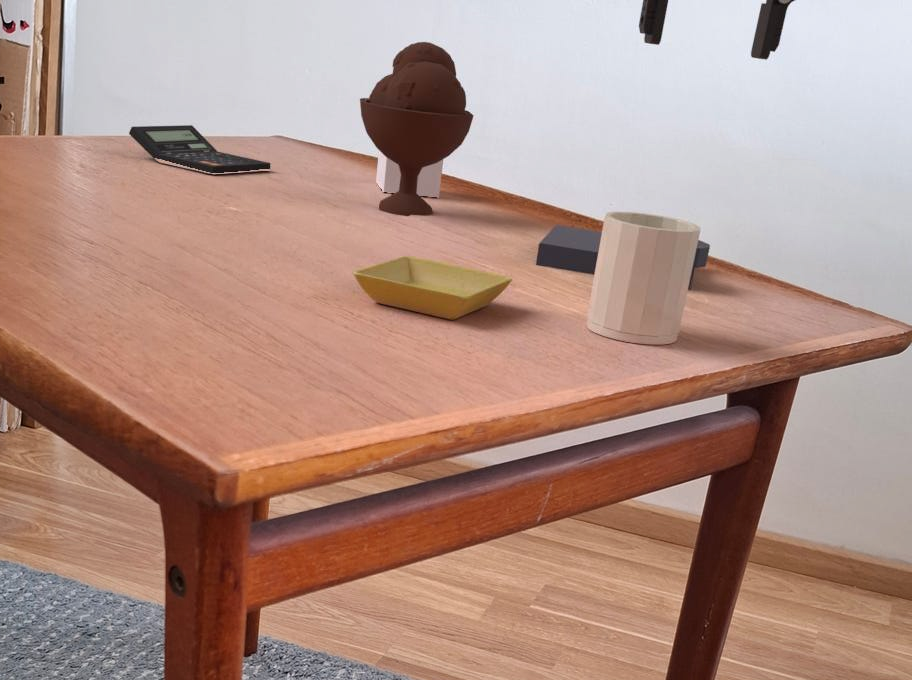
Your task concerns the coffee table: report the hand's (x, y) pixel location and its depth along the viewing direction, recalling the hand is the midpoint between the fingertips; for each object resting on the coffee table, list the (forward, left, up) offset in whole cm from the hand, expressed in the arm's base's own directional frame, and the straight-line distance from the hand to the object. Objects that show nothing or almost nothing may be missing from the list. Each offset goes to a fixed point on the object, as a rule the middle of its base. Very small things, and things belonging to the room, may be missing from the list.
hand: (706, 51), depth 93 cm
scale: (+4, -7, -18) cm, 19 cm away
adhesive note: (+29, -32, -18) cm, 47 cm away
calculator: (+51, -28, -18) cm, 61 cm away
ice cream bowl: (+26, -19, -18) cm, 37 cm away
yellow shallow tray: (+15, +19, -18) cm, 30 cm away
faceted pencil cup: (+1, +17, -18) cm, 25 cm away
